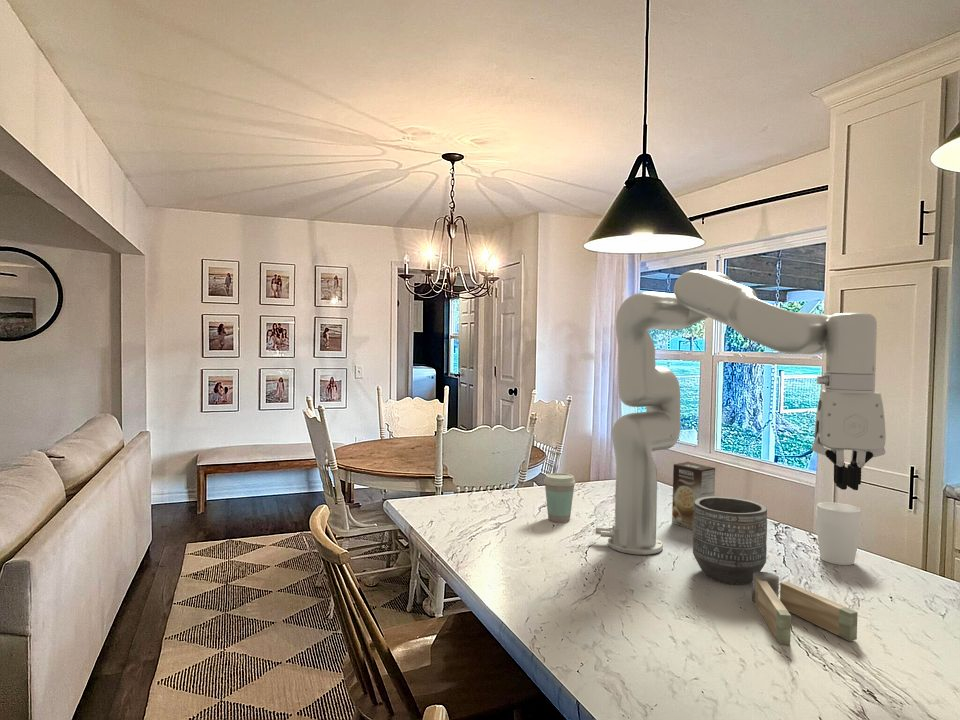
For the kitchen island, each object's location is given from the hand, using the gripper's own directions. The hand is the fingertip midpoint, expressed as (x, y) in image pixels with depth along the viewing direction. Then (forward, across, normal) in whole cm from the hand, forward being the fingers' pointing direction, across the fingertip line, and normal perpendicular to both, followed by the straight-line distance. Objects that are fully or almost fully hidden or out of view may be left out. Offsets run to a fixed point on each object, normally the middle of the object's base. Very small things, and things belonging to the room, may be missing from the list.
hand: (846, 487), depth 111 cm
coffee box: (+23, -18, +53) cm, 61 cm away
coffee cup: (+23, -53, +51) cm, 77 cm away
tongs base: (+23, -12, -3) cm, 26 cm away
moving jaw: (+23, -6, -4) cm, 24 cm away
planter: (+23, -16, +17) cm, 33 cm away
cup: (+23, +10, +32) cm, 41 cm away
